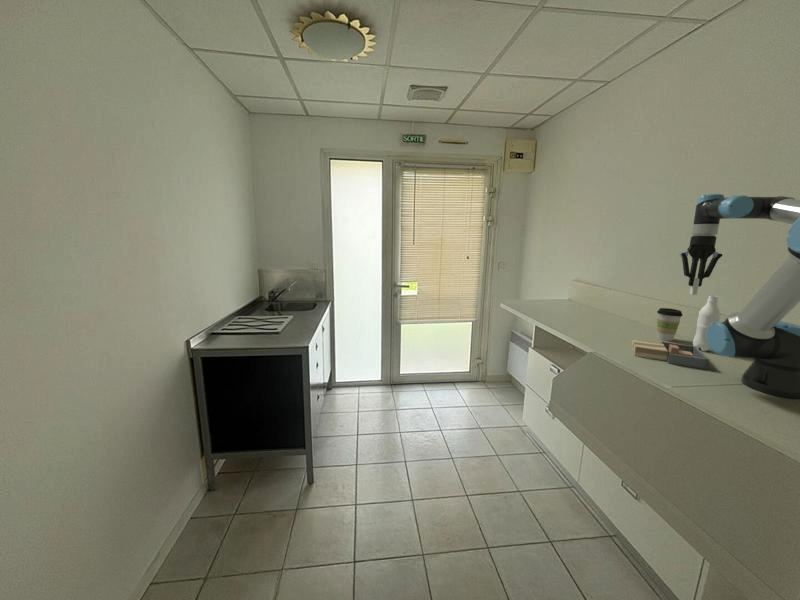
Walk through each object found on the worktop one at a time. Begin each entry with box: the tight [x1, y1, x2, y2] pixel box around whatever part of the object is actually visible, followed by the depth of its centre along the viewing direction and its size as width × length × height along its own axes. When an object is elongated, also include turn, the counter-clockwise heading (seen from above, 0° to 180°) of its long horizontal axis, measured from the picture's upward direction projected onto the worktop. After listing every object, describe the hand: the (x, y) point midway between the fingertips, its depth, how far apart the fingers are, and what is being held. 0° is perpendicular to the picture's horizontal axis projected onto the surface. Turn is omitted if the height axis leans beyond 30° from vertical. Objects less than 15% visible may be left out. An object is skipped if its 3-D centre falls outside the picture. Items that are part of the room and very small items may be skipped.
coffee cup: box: [656, 307, 683, 342], centre depth 163 cm, size 10×10×15 cm
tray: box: [660, 341, 710, 370], centre depth 138 cm, size 18×12×4 cm, turn 150°
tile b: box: [678, 350, 693, 357], centre depth 138 cm, size 4×4×2 cm
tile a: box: [668, 344, 679, 355], centre depth 139 cm, size 4×4×2 cm
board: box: [630, 338, 668, 362], centre depth 143 cm, size 12×11×4 cm
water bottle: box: [692, 294, 722, 352], centre depth 147 cm, size 7×7×25 cm
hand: (693, 294), depth 134 cm, fingers closed
